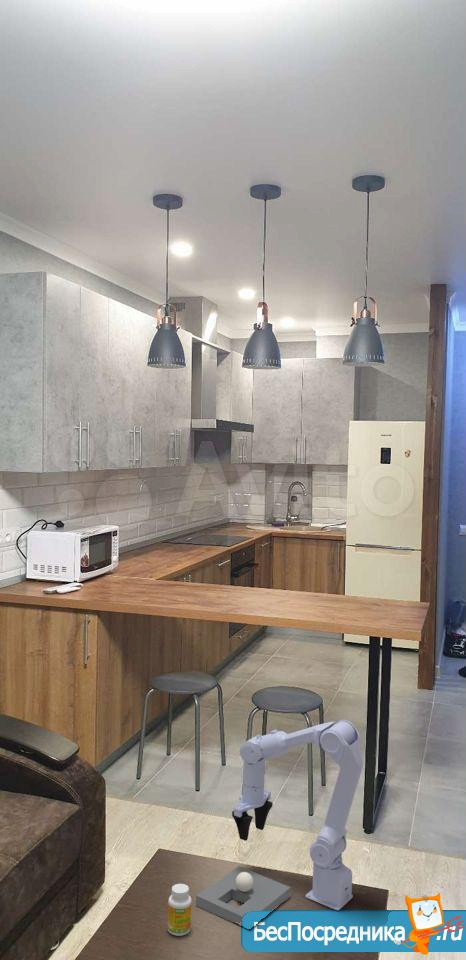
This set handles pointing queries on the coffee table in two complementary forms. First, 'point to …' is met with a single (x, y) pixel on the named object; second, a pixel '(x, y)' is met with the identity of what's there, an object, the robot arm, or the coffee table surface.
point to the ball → (244, 881)
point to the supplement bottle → (179, 910)
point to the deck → (242, 895)
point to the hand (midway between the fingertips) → (251, 833)
